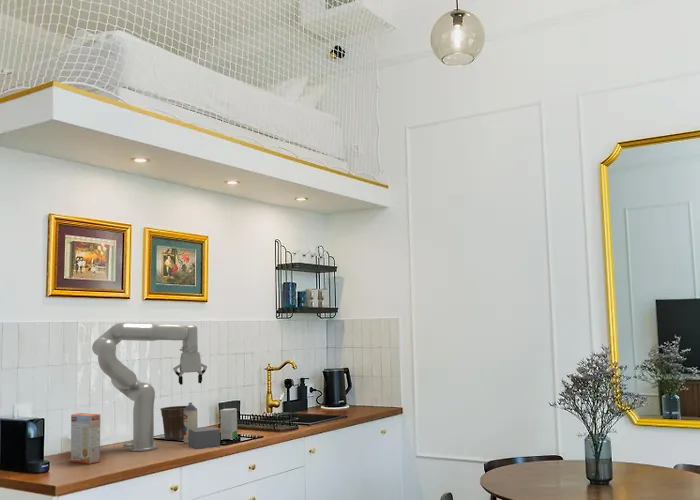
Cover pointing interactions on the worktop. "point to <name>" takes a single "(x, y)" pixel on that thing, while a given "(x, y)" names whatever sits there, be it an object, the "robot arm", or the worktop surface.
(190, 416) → the aerosol can
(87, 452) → the cracker box
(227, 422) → the skincare box
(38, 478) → the worktop surface
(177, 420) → the plant pot
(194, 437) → the stand
